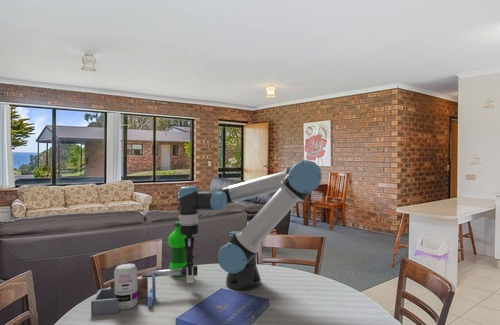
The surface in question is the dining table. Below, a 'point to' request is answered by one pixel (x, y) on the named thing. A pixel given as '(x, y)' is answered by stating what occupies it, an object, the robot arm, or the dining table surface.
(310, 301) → the dining table surface
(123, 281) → the supplement can
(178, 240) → the plastic bottle
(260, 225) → the robot arm
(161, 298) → the dining table surface
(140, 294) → the brown wooden board
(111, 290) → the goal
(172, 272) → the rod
